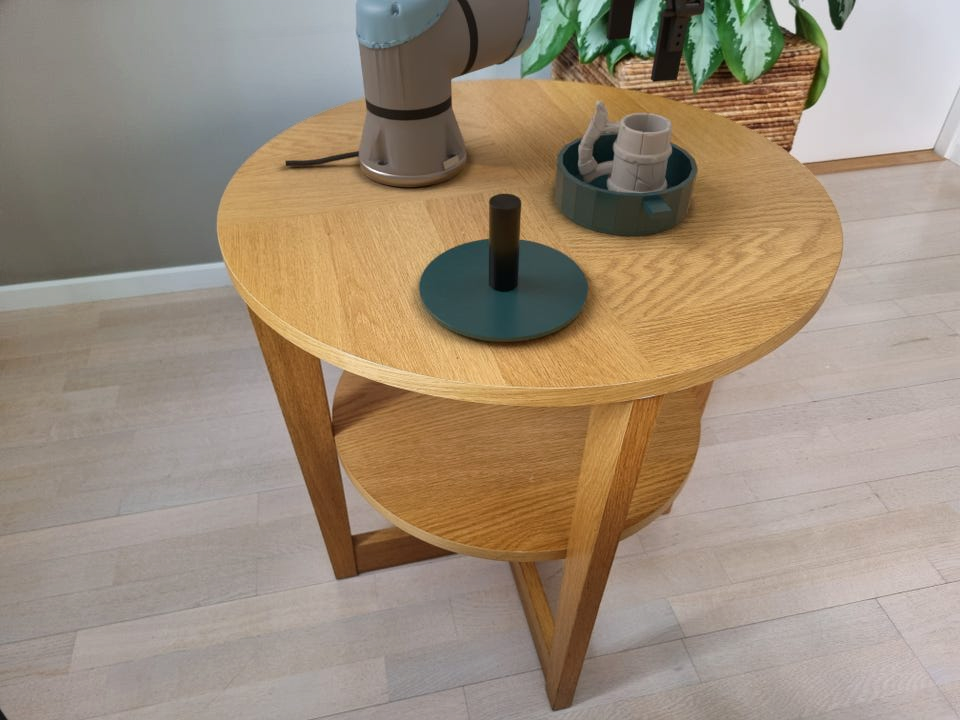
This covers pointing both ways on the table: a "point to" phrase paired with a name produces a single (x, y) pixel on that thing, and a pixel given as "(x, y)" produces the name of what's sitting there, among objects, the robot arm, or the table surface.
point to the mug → (628, 151)
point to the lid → (503, 283)
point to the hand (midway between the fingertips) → (639, 58)
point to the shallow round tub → (622, 193)
